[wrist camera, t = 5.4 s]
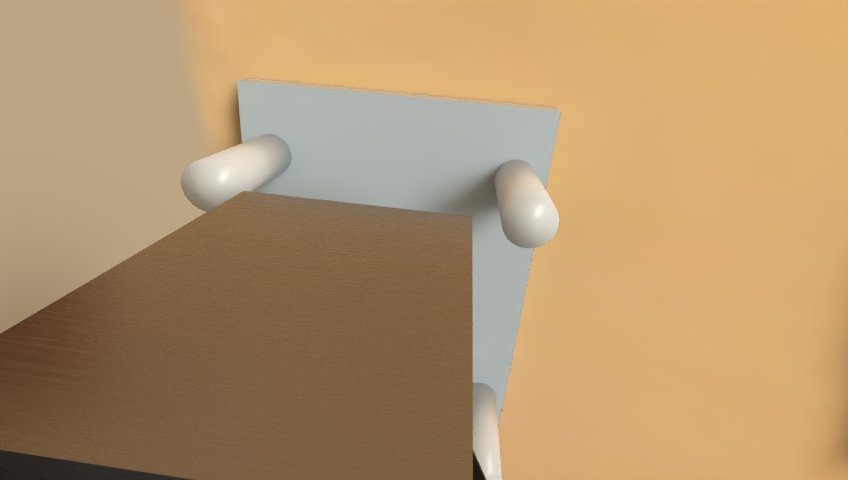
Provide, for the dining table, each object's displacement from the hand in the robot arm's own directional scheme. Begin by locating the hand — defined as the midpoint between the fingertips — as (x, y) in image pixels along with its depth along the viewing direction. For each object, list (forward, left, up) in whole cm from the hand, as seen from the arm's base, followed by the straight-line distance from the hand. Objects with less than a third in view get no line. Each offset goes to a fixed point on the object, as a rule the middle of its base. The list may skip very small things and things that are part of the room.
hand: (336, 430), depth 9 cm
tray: (0, 0, -7) cm, 7 cm away
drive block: (0, 0, -1) cm, 1 cm away
